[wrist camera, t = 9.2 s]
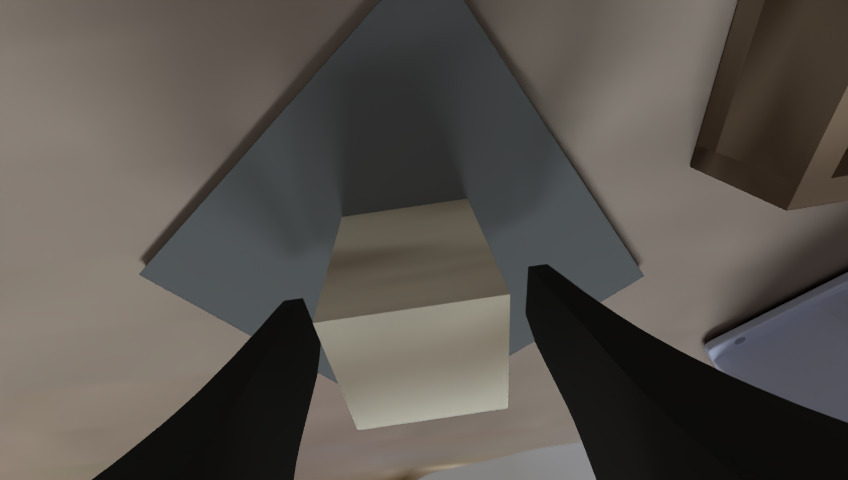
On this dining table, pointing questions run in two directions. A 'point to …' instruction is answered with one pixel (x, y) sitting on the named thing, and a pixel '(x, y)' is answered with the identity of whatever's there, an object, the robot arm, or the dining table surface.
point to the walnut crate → (781, 104)
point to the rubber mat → (393, 175)
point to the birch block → (415, 316)
